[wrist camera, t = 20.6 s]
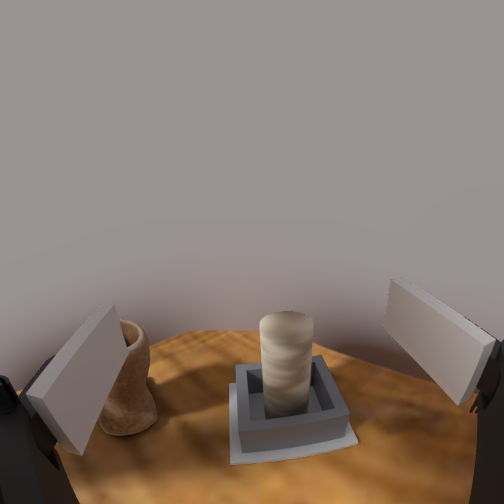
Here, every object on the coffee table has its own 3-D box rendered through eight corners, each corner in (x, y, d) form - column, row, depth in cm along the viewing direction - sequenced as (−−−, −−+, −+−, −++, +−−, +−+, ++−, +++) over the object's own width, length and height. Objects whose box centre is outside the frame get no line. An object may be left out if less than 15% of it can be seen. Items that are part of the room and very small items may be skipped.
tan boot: (179, 426, 32) (152, 341, 28) (104, 446, 26) (57, 363, 22) (152, 371, 44) (132, 297, 41) (94, 385, 38) (65, 312, 35)
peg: (267, 431, 30) (263, 339, 27) (262, 402, 36) (256, 314, 32) (312, 423, 30) (320, 331, 27) (301, 396, 36) (304, 308, 33)
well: (230, 464, 25) (224, 441, 24) (229, 385, 41) (225, 359, 39) (357, 444, 26) (366, 419, 25) (324, 374, 41) (327, 347, 40)
